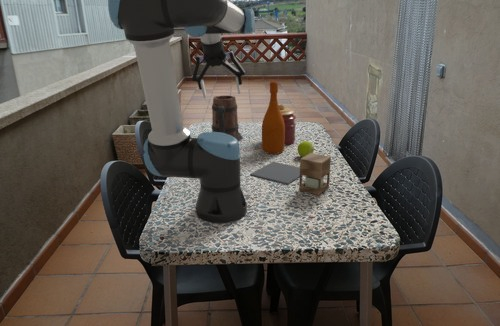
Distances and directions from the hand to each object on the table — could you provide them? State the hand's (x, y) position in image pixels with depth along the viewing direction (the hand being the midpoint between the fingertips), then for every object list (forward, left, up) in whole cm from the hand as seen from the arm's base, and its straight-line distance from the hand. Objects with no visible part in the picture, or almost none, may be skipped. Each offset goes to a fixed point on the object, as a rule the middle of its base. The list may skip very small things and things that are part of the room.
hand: (222, 94), depth 153 cm
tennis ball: (+28, -19, -27) cm, 43 cm away
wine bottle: (+22, -5, -27) cm, 35 cm away
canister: (+34, +4, -27) cm, 43 cm away
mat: (+8, -27, -26) cm, 38 cm away
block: (+8, -45, -27) cm, 52 cm away
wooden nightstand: (+8, -45, -26) cm, 52 cm away
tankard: (+14, +23, -27) cm, 38 cm away
